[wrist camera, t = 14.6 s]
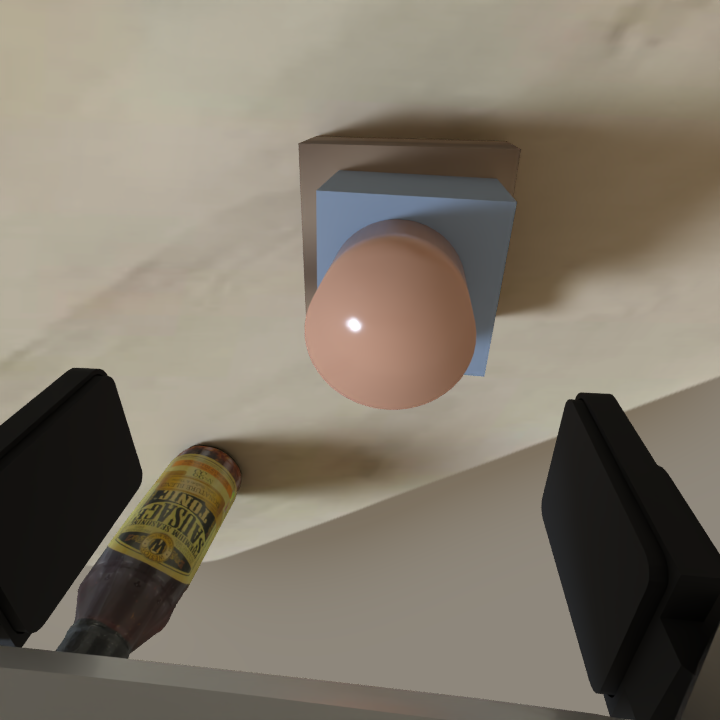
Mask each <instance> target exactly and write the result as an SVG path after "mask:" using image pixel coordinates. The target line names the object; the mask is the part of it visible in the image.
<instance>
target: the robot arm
mask: <svg viewBox="0 0 720 720" xmlns="http://www.w3.org/2000/svg"><path fill="white" fill-rule="evenodd" d="M141 482H142V469H141V466H140V463H139V459H138V456H137V453H136V450H135V446H134V443H133V440H132V437H131V433H130V430H129V427H128V424H127V421H126V417H125V414H124V411H123V408H122V404H121V401H120V398H119V395H118V391H117V388H116V385H115V382H114V380H113V379H112V378H111V377H109V376H107V374H106V373H105V371H104V370H101V369H90V368H72V369H70V370H68V371H67V372H66V373H64V374H63V375H62V376H61V377H59V378H58V379H57V380H56V381H55V382H53V383H52V384H51V385H50V386H48V387H47V388H46V389H45V390H43V391H42V392H41V393H40V394H39V395H37V396H36V397H35V398H34V399H32V400H31V401H30V402H29V403H27V404H26V405H25V406H24V407H23V408H21V409H20V410H19V411H18V412H16V413H15V414H14V415H13V416H11V417H10V418H9V419H8V420H7V421H5V422H4V423H3V424H2V425H0V720H625V719H630V720H720V554H719V552H718V551H717V549H716V548H715V546H714V545H713V543H712V542H711V540H710V538H709V537H708V535H707V534H706V532H705V531H704V529H703V527H702V526H701V524H700V523H699V521H698V520H697V518H696V517H695V515H694V513H693V512H692V510H691V509H690V507H689V506H688V504H687V503H686V501H685V499H684V498H683V496H682V495H681V493H680V492H679V490H678V489H677V487H676V485H675V484H674V482H673V481H672V479H671V478H670V476H669V475H668V473H667V472H666V471H665V470H664V469H663V468H662V467H660V466H658V465H657V464H656V462H655V461H654V459H653V458H652V456H651V454H650V453H649V451H648V450H647V448H646V446H645V445H644V443H643V442H642V440H641V438H640V437H639V435H638V434H637V432H636V431H635V429H634V427H633V426H632V424H631V423H630V421H629V419H628V418H627V416H626V415H625V413H624V411H623V410H622V408H621V407H620V405H619V403H618V402H617V400H616V399H615V397H614V396H613V395H611V394H600V393H579V394H578V395H577V396H576V399H575V400H572V399H569V400H567V402H566V404H565V408H564V412H563V416H562V420H561V424H560V428H559V432H558V436H557V440H556V444H555V448H554V452H553V457H552V461H551V465H550V469H549V473H548V477H547V481H546V485H545V489H544V493H543V498H542V516H543V521H544V524H545V528H546V531H547V534H548V538H549V542H550V545H551V548H552V552H553V555H554V559H555V562H556V566H557V570H558V573H559V576H560V580H561V584H562V587H563V590H564V594H565V598H566V601H567V604H568V608H569V612H570V615H571V618H572V622H573V626H574V629H575V632H576V636H577V639H578V643H579V647H580V650H581V653H582V657H583V660H584V664H585V667H586V671H587V674H588V678H589V681H590V684H591V687H592V688H593V690H594V692H595V693H598V694H604V698H605V701H606V705H607V708H608V711H609V714H610V717H608V716H603V715H598V714H591V713H584V712H576V711H568V710H562V709H554V708H547V707H539V706H532V705H524V704H517V703H509V702H502V701H494V700H487V699H480V698H471V697H463V696H454V695H445V694H436V693H428V692H419V691H411V690H401V689H393V688H384V687H375V686H367V685H359V684H350V683H341V682H332V681H324V680H316V679H307V678H298V677H289V676H280V675H270V674H262V673H253V672H243V671H235V670H225V669H217V668H208V667H198V666H188V665H180V664H171V663H162V662H153V661H143V660H134V659H125V658H116V657H107V656H97V655H88V654H78V653H68V652H59V651H49V650H39V649H29V648H22V646H23V645H24V643H25V642H26V641H27V639H28V638H29V636H30V635H31V634H32V633H34V632H37V631H38V630H39V629H40V628H41V627H42V626H43V625H44V624H45V622H46V621H47V620H48V618H49V617H50V615H51V614H52V612H53V611H54V610H55V608H56V607H57V605H58V604H59V602H60V601H61V599H62V598H63V597H64V595H65V594H66V592H67V591H68V589H69V588H70V586H71V585H72V583H73V582H74V580H75V579H76V578H77V576H78V575H79V574H80V572H81V571H82V569H83V568H84V566H85V565H86V564H87V562H88V561H89V559H90V558H91V556H92V555H93V553H94V552H95V551H96V549H97V548H98V546H99V545H100V543H101V542H102V540H103V539H104V538H105V536H106V535H107V533H108V532H109V530H110V529H111V528H112V526H113V525H114V523H115V522H116V520H117V519H118V517H119V516H120V515H121V513H122V512H123V510H124V509H125V507H126V506H127V505H128V503H129V502H130V500H131V499H132V497H133V496H134V494H135V493H136V492H137V490H138V489H139V487H140V485H141Z"/></svg>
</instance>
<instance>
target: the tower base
mask: <svg viewBox="0 0 720 720" xmlns="http://www.w3.org/2000/svg"><path fill="white" fill-rule="evenodd" d="M520 151H521V149H519V148H518V147H516V146H514V145H512V144H511V143H509V142H507V141H480V140H441V139H402V138H363V137H324V136H316V137H313V138H311V139H308V140H306V141H303V142H301V143H299V166H300V188H301V211H302V234H303V257H304V280H305V303H306V314H307V311H308V308H309V305H310V303H311V300H312V298H313V296H314V294H315V293H316V291H317V219H316V190H317V189H319V188H320V187H321V186H322V185H323V184H324V183H325V182H326V181H327V180H329V179H330V178H331V177H332V176H333V175H334V174H335V173H336V172H338V171H339V170H347V171H365V172H384V173H402V174H421V175H439V176H457V177H476V178H494V179H498V180H499V182H500V183H501V184H502V185H503V186H504V187H505V189H506V190H507V191H508V192H509V193H510V195H511V196H512V197H513V194H514V188H515V182H516V176H517V170H518V164H519V158H520Z"/></svg>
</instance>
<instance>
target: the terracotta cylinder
mask: <svg viewBox="0 0 720 720" xmlns="http://www.w3.org/2000/svg"><path fill="white" fill-rule="evenodd" d="M305 341H306V346H307V350H308V353H309V356H310V358H311V360H312V363H313V365H314V366H315V368H316V370H317V371H318V373H319V374H320V375H321V376H322V378H323V379H324V380H325V381H326V382H327V383H328V384H329V385H330V386H331V387H332V388H333V389H335V390H336V391H337V392H338V393H340V394H341V395H343V396H345V397H346V398H348V399H350V400H352V401H354V402H357V403H359V404H362V405H365V406H369V407H373V408H378V409H387V410H398V409H408V408H412V407H417V406H420V405H423V404H426V403H429V402H431V401H433V400H435V399H437V398H439V397H440V396H442V395H443V394H445V393H446V392H447V391H449V390H450V389H451V388H452V387H453V386H454V385H455V384H456V383H457V382H458V381H459V380H460V379H461V377H462V376H463V375H464V373H465V372H466V370H467V368H468V366H469V365H470V363H471V360H472V357H473V354H474V350H475V345H476V324H475V319H474V314H473V309H472V305H471V300H470V295H469V291H468V286H467V281H466V277H465V272H464V268H463V265H462V262H461V260H460V257H459V255H458V254H457V252H456V250H455V249H454V247H453V246H452V245H451V244H450V242H449V241H448V240H447V239H446V238H445V237H443V236H442V235H441V234H440V233H438V232H437V231H436V230H434V229H432V228H430V227H428V226H426V225H424V224H421V223H418V222H415V221H410V220H402V219H391V220H384V221H379V222H376V223H373V224H370V225H368V226H366V227H364V228H362V229H360V230H359V231H357V232H356V233H354V234H353V235H352V236H351V237H350V238H348V239H347V240H346V242H345V243H344V244H343V245H342V246H341V248H340V249H339V251H338V252H337V254H336V256H335V258H334V260H333V261H332V263H331V265H330V267H329V269H328V271H327V272H326V274H325V276H324V278H323V280H322V282H321V283H320V285H319V287H318V289H317V291H316V293H315V294H314V296H313V298H312V300H311V303H310V305H309V308H308V311H307V314H306V320H305Z"/></svg>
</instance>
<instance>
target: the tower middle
mask: <svg viewBox="0 0 720 720" xmlns="http://www.w3.org/2000/svg"><path fill="white" fill-rule="evenodd" d="M516 205H517V202H516V201H515V199H514V198H513V197H512V196H511V195H510V193H509V192H508V191H507V190H506V189H505V187H504V186H503V185H502V184H501V183H500V182H499V180H498V179H494V178H476V177H457V176H439V175H421V174H402V173H384V172H365V171H347V170H339V171H338V172H336V173H335V174H334V175H333V176H332V177H331V178H330V179H329V180H327V181H326V182H325V183H324V184H323V185H322V186H321V187H320V188H319V189H317V190H316V219H317V289H318V287H319V285H320V283H321V282H322V280H323V278H324V276H325V274H326V272H327V271H328V269H329V267H330V265H331V263H332V261H333V260H334V258H335V256H336V254H337V252H338V251H339V249H340V248H341V246H342V245H343V244H344V243H345V242H346V240H347V239H348V238H350V237H351V236H352V235H353V234H354V233H356V232H357V231H359V230H360V229H362V228H364V227H366V226H368V225H370V224H373V223H376V222H379V221H384V220H391V219H402V220H410V221H415V222H418V223H421V224H424V225H426V226H428V227H430V228H432V229H434V230H436V231H437V232H438V233H440V234H441V235H442V236H443V237H445V238H446V239H447V240H448V241H449V242H450V244H451V245H452V246H453V247H454V249H455V250H456V252H457V254H458V255H459V257H460V260H461V262H462V265H463V268H464V272H465V277H466V281H467V286H468V291H469V295H470V300H471V305H472V309H473V314H474V319H475V324H476V345H475V350H474V354H473V357H472V360H471V363H470V365H469V366H468V368H467V370H466V372H465V373H464V375H473V376H484V375H485V370H486V364H487V359H488V354H489V348H490V343H491V338H492V332H493V327H494V322H495V316H496V311H497V306H498V300H499V295H500V290H501V284H502V279H503V274H504V268H505V263H506V258H507V252H508V247H509V242H510V236H511V231H512V226H513V221H514V215H515V210H516Z"/></svg>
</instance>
